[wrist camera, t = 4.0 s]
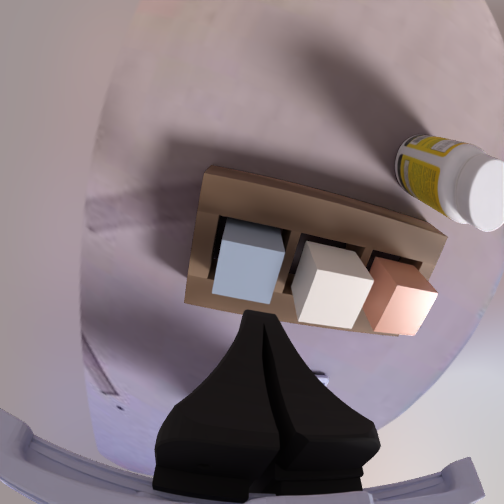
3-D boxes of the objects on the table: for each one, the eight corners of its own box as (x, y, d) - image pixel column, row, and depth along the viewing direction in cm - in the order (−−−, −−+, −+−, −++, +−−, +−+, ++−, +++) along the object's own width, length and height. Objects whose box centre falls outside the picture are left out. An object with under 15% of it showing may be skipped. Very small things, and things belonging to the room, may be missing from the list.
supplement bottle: (425, 207, 20) (491, 254, 13) (381, 174, 19) (447, 212, 12) (453, 157, 18) (528, 185, 11) (412, 120, 17) (489, 132, 10)
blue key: (266, 273, 21) (269, 304, 17) (218, 263, 20) (211, 293, 17) (279, 228, 19) (285, 252, 16) (227, 216, 19) (222, 239, 16)
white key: (337, 295, 20) (351, 328, 17) (291, 286, 20) (298, 321, 16) (354, 251, 19) (374, 280, 15) (306, 240, 18) (317, 269, 15)
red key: (395, 304, 21) (414, 335, 17) (357, 298, 20) (373, 331, 17) (414, 265, 19) (438, 293, 16) (375, 256, 19) (397, 285, 15)
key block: (386, 315, 24) (398, 336, 22) (191, 280, 23) (184, 302, 20) (428, 222, 21) (447, 237, 18) (211, 164, 19) (204, 172, 16)
